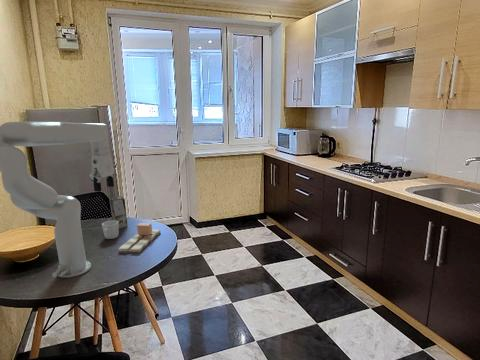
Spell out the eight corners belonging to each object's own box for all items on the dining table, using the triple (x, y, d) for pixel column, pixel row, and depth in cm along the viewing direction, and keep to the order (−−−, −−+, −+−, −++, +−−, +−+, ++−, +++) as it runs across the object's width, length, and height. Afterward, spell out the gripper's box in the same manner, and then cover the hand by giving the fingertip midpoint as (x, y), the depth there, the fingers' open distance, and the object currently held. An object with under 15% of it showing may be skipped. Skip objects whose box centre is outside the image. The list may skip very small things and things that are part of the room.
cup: (114, 242, 155) (112, 227, 153) (98, 243, 155) (96, 227, 153) (122, 234, 165) (120, 219, 163) (107, 234, 165) (105, 220, 163)
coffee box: (128, 226, 176) (125, 198, 172) (116, 229, 173) (112, 201, 169) (124, 221, 183) (120, 195, 180) (112, 224, 180) (109, 197, 176)
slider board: (139, 253, 142) (138, 249, 141) (118, 252, 143) (118, 248, 143) (160, 233, 165) (160, 229, 164) (142, 232, 166) (142, 228, 166)
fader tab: (149, 237, 156) (148, 225, 155) (138, 236, 157) (136, 225, 156) (152, 234, 160) (151, 223, 158) (141, 234, 161) (140, 222, 159)
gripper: (96, 153, 131) (100, 193, 134) (119, 149, 148) (122, 185, 151) (80, 153, 133) (84, 193, 136) (104, 149, 149) (108, 184, 153)
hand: (104, 188), depth 143 cm, fingers open, 9 cm apart
